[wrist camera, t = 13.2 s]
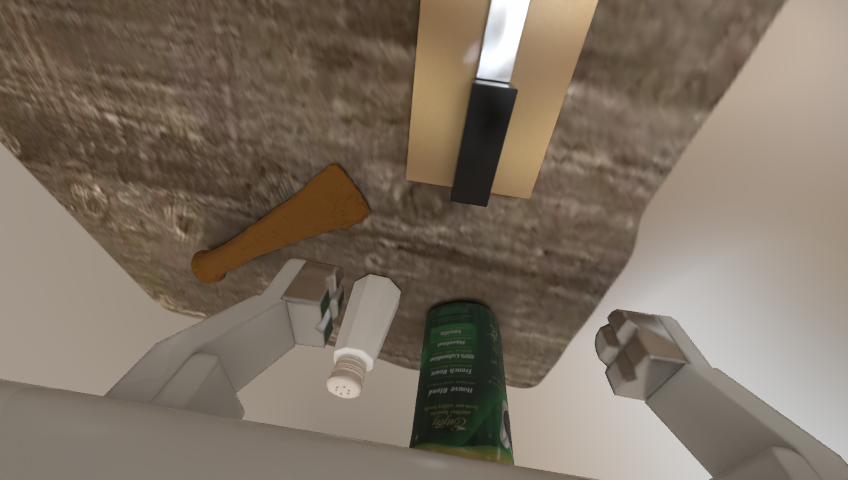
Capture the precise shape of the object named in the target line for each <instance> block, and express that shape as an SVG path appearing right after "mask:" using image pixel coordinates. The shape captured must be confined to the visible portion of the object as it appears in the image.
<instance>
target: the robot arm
mask: <svg viewBox="0 0 848 480" xmlns="http://www.w3.org/2000/svg"><path fill="white" fill-rule="evenodd" d="M342 278H343V268H342V267H341V266H336V265H330V264H325V263H319V262H314V261H306V260H301V259H295V258H292V259H290V260H288V261H287V262H286V263H285V265H284V266H283V267H282V268H281V270H280V271H279V272H278V274H277V275H276V276H275V277H274V279H273V280H272V281H271V283H270V284H269V285H268V286H267V288H266V289H265V290H264V292H263V293H262V294H261V295H260V296H257V295H254V296H252V297H250V298H248V299H246V300H244V301H242V302H240V303H238V304H236V305H234V306H232V307H230V308H228V309H226V310H224V311H221V312H219V313H217V314H215V315H213V316H211V317H209V318H207V319H205V320H203V321H201V322H199V323H197V324H195V325H193V326H191V327H189V328H187V329H185V330H183V331H181V332H178V333H176V334H175V335H172V336H170V337H168V338H166V339H164V340H162V341H160V342H158V343H156V344H155V345H154V346H153V347H152V348H151V349H150V350H149V351H148V352H147V353H146V354H145V355H144V356H143V357H142V358H141V359H140V360H139V361H138V362H137V363H136V364H135V365H134V366H133V367H132V368H131V369H130V370H129V371H128V372H127V373H126V374H125V375H124V376H123V377H122V378H121V379H120V380H119V381H118V382H117V383H116V384H115V385H114V386H113V387H112V388H111V390H109V391H108V392H107V393H106V395H104V396H98V395H92V394H86V393H80V392H74V391H69V390H62V389H56V388H51V387H45V386H39V385H32V384H27V383H21V382H15V381H9V380H3V379H0V480H598V479H591V478H585V477H580V476H574V475H568V474H562V473H556V472H550V471H544V470H538V469H532V468H526V467H521V466H515V465H509V464H503V463H497V462H491V461H485V460H479V459H473V458H467V457H461V456H455V455H449V454H444V453H438V452H432V451H426V450H420V449H414V448H408V447H402V446H396V445H390V444H384V443H378V442H372V441H366V440H360V439H354V438H348V437H342V436H336V435H330V434H325V433H319V432H313V431H306V430H301V429H295V428H289V427H283V426H276V425H271V424H265V423H259V422H253V421H247V420H242V418H243V416H244V414H245V413H244V409H243V406H242V404H241V402H240V400H239V398H238V396H237V394H236V393H237V392H238V391H239V390H241V389H242V388H243V387H244V386H245V385H247V384H248V383H249V382H250V381H252V380H253V379H254V378H255V377H257V376H258V375H259V374H261V373H262V372H263V371H264V370H266V369H267V368H268V367H269V366H271V365H272V364H273V363H274V362H276V361H277V360H278V359H279V358H280V357H282V356H283V355H284V354H285V353H287V352H288V351H289V350H290V349H292V348H293V347H294V346H295V344H298V345H306V346H313V347H321V348H324V347H325V345H326V343H327V341H328V339H329V336H330V334H331V332H332V330H333V326H332V321H333V320H334V319H336V318H337V317H338V316H339V314H340V311H341V308H342V305H343V301H344V287H343V285H342V284H341V283H340V282H341V280H342ZM608 321H609V324H607V325H605V326H603V327H601V328H600V329H599V331H598V333H597V334H596V338H595V348H596V352H597V355H598V357H599V359H600V360H601V361H602V362H603V363H604V364H605V365H606V366H607V369H606V371H605V374H606V376H607V378H608V381H609V383H610V385H611V388H612V390H613V393H614V395H618V396H623V397H628V398H633V399H639V400H644V401H646V402H645V403H646V404H647V405H648V406H649V407H650V408H651V410H652V411H653V412H654V413H655V414H656V415H657V416H658V417H659V418H660V419H661V421H662V422H663V423H664V424H665V425H666V426H667V427H668V428H669V429H670V430H671V432H673V434H674V435H675V436H676V437H677V438H678V439H679V440H680V441H681V443H682V444H684V446H685V447H686V448H687V449H688V450H689V451H690V452H691V454H692V455H693V456H694V457H695V458H696V459H697V460H698V461H699V462H700V463H701V465H702V466H703V467H704V468H705V469H706V470H707V471H708V472H709V473H710V474H711V475H712V477H713V478H711V479H709V480H848V464H847V463H846V462H845V461H844V460H843V459H842V458H841V456H839V455H838V454H837V453H835V452H834V451H832V450H831V449H830V448H828V447H827V446H826V445H824V444H823V443H821V442H820V441H819V440H817V439H816V438H814V437H813V436H811V435H810V434H809V433H807V432H806V431H805V430H803V429H801V428H800V427H799V426H798V425H796V424H794V423H793V422H792V421H791V420H789V419H788V418H786V417H785V416H784V415H782V414H781V413H779V412H778V411H777V410H775V409H774V408H772V407H771V406H770V405H768V404H767V403H765V402H764V401H762V400H761V399H760V398H758V397H757V396H755V395H754V394H753V393H751V392H750V391H748V390H747V389H746V388H744V387H743V386H741V385H740V384H739V383H737V382H736V381H734V380H733V379H732V378H730V377H729V376H728V375H726V374H725V373H723V372H722V371H721V370H719V369H717V368H712V367H711V366H710V364H709V363H708V362H707V360H706V359H705V358H704V357H703V355H702V354H701V352H700V351H699V350H698V348H697V347H696V346H695V344H694V343H693V342H692V340H691V339H690V338H689V337H688V335H687V334H686V333H685V331H684V330H683V329H682V327H681V326H680V325H679V323H678V322H677V321H676V320H674V319H673V318H672V317H668V316H660V315H654V314H645V313H639V312H632V311H625V310H618V309H617V310H615V311H612V312H611V314H610V315H609V316H608Z"/></svg>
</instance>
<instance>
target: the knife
mask: <svg viewBox="0 0 848 480" xmlns="http://www.w3.org/2000/svg"><path fill="white" fill-rule="evenodd" d="M530 2H531V0H490V2H489V7H488V13H487V18H486V23H485V28H484V33H483V39H482V44H481V49H480V54H479V59H478V65H477V70H476V75H475V77H476V78H474V77H473V78H472V79H471V85H470V90H469V95H468V101H467V106H466V111H465V117H464V122H463V127H462V133H461V138H460V143H459V149H458V154H457V159H456V165H455V170H454V175H453V181H452V189H451V199H450V200H451V201H454V202H460V203H466V204H472V205H478V206H484V207H487V204H488V200H489V197H490V193H491V189H492V186H493V182H494V178H495V174H496V171H497V167H498V163H499V160H500V156H501V152H502V149H503V145H504V141H505V137H506V134H507V130H508V126H509V123H510V119H511V115H512V112H513V108H514V104H515V101H516V97H517V93H518V89H517V88H516V87H514V86H513V85H512V84H511V83H510V81H511V77H512V73H513V69H514V65H515V61H516V57H517V54H518V50H519V46H520V42H521V38H522V34H523V30H524V26H525V22H526V18H527V14H528V10H529V6H530Z"/></svg>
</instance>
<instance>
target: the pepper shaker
mask: <svg viewBox="0 0 848 480" xmlns="http://www.w3.org/2000/svg"><path fill="white" fill-rule="evenodd" d="M400 295H401V291H400V290H399V289H398V287H397V286H396V285H395V284H394V283H393V282H392V281H391V280H390V279H389V278H386V277H382V276H377V275H372V274H369V275H367V276H365V277H363V278H361V279H359V280H357V281H355V283H354V286H353V289H352V293H351V296H350V299H349V302H348V306H347V309H346V312H345V315H344V319H343V322H342V325H341V328H340V332H339V335H338V338H337V341H336V345H335V349H334V362H335V363H336V364H335V366H334V368H333V370H332V372H331V375H330V377H329V378H328V380H327V382H326V385H327V388H328V390H329V391H330V392H331V393H333V394H335V395H336V396H339V397H343V398H354V397H357V396H358V395H359V394H360V393H361V389H362V383H363V380H364V378H365V373H366V372H367V371H370V370H372V368H373V367H374V364H375V362H376V360H377V357H378V355H379V352H380V350H381V347H382V345H383V343H384V340H385V338H386V335H387V333H388V330H389V328H390V325H391V323H392V320H393V318H394V315H395V313H396V310H397V308H398V305H399V300H400Z"/></svg>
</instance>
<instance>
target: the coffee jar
mask: <svg viewBox="0 0 848 480" xmlns="http://www.w3.org/2000/svg"><path fill="white" fill-rule="evenodd" d="M409 448H414V449H420V450H426V451H432V452H438V453H444V454H449V455H455V456H461V457H467V458H473V459H479V460H485V461H491V462H497V463H503V464H509V465H514V459H513V451H512V441H511V432H510V421H509V412H508V403H507V394H506V385H505V375H504V364H503V354H502V345H501V337H500V332H499V328H498V324H497V322H496V319H495V317H494V315H493V313H492V312H491V311H490V310H489V309H488V308H487V307H485V306H483V305H480V304H476V303H468V302H455V303H450V304H445V305H443V306H439V307H437V308H435V309H434V310H432V311H431V312H430V313H429V314H428V316H427V319H426V326H425V333H424V341H423V350H422V359H421V368H420V376H419V383H418V391H417V398H416V406H415V414H414V421H413V430H412V436H411V441H410V446H409Z"/></svg>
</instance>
